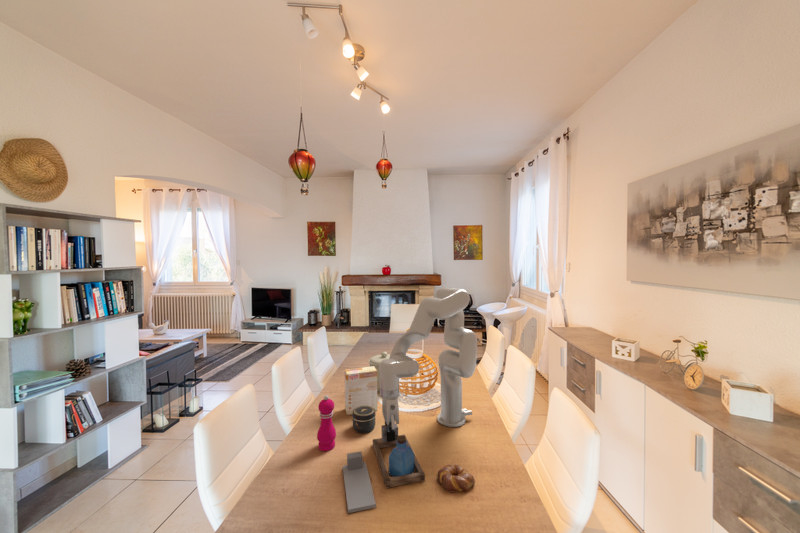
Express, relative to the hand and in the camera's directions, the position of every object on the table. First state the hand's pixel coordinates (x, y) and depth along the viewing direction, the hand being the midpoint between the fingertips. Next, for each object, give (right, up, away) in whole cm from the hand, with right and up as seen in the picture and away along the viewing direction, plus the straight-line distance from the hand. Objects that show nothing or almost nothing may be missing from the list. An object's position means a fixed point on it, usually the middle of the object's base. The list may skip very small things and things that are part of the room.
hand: (389, 437), depth 124 cm
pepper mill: (-25, -3, -1) cm, 25 cm away
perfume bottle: (+5, -3, -16) cm, 17 cm away
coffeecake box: (-15, -3, +29) cm, 33 cm away
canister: (-5, -2, +54) cm, 54 cm away
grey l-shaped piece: (-10, -3, -23) cm, 25 cm away
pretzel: (+22, -4, -21) cm, 31 cm away
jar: (-12, -3, +13) cm, 17 cm away
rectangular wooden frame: (+3, -3, -10) cm, 11 cm away
